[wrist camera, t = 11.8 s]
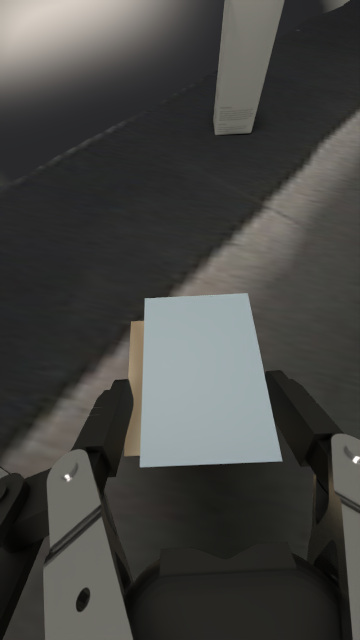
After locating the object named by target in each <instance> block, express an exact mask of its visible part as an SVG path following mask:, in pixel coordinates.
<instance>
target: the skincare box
mask: <svg viewBox="0 0 360 640" xmlns="http://www.w3.org/2000/svg"><path fill="white" fill-rule="evenodd" d="M283 4H284V0H225V5H224V15H223V25H222V36H221V47H220V56H219V66H218V77H217V87H216V97H215V108H214V118H213V122H214V130H215V135H227V134H243V133H251V131H252V127H253V123H254V119H255V115H256V111H257V107H258V103H259V99H260V95H261V91H262V87H263V83H264V79H265V75H266V71H267V67H268V63H269V60H270V56H271V52H272V48H273V44H274V40H275V36H276V32H277V27H278V24H279V20H280V15H281V12H282V8H283Z"/></svg>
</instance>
